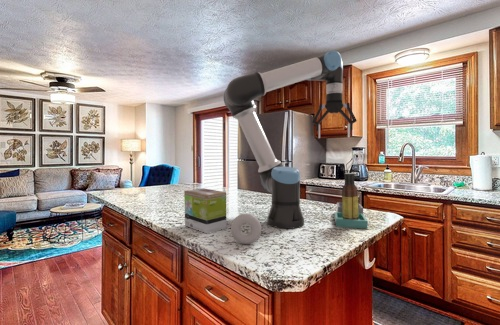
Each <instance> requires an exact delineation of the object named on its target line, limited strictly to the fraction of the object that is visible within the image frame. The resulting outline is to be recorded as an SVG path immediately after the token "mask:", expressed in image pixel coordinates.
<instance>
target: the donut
mask: <svg viewBox="0 0 500 325" xmlns="http://www.w3.org/2000/svg"><path fill="white" fill-rule="evenodd" d="M244 225H248V226H249V227H250V232H248V233H245V232H243V231H242V227H243V226H244ZM230 226H231V227H230V231H231V235H232V237H233V239H234V240H235V241H236V242H237V243H240V244H242V245H251V244H254V243H255V242H256V241H257V240H259V238H260V237H261V234H262V229H263V228H262V224H261V222H260V220H259V218H257V217H256V216H255V215H253V214H250V213H241V214H239V215H238V216H236V217H235V218H234V219H233V221H232V223H231V224H230Z"/></svg>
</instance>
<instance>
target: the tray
mask: <svg viewBox="0 0 500 325" xmlns="http://www.w3.org/2000/svg"><path fill="white" fill-rule="evenodd" d="M334 222H335V227H338V228H353V229H367V230H368V225H369V224H368V220H367V218H366V217H365V215H364V213H363V214H358V220H350V219H343V213H340V212H337V211H335V212H334Z"/></svg>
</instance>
